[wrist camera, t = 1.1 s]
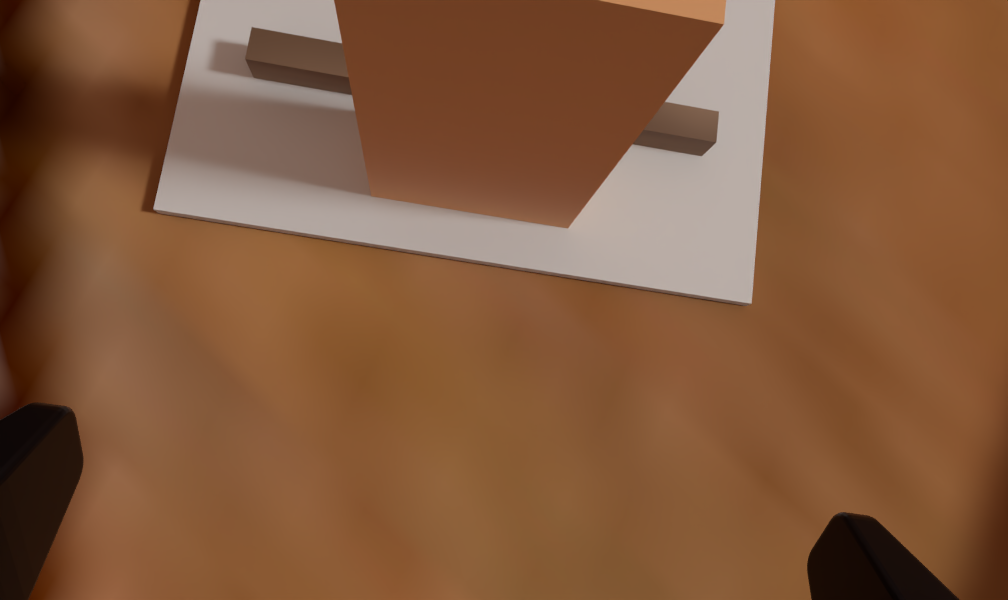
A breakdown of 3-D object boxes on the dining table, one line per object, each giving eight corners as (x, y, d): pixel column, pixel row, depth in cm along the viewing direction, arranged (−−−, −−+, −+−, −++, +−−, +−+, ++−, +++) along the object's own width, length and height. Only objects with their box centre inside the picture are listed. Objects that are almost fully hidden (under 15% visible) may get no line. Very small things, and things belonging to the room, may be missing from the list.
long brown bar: (701, 156, 24) (716, 142, 23) (253, 77, 23) (245, 58, 22) (704, 126, 24) (719, 111, 23) (260, 47, 23) (251, 26, 22)
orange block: (568, 228, 23) (724, 24, 12) (371, 196, 23) (323, -52, 11) (577, 148, 24) (737, -128, 12) (385, 115, 23) (354, -207, 11)
